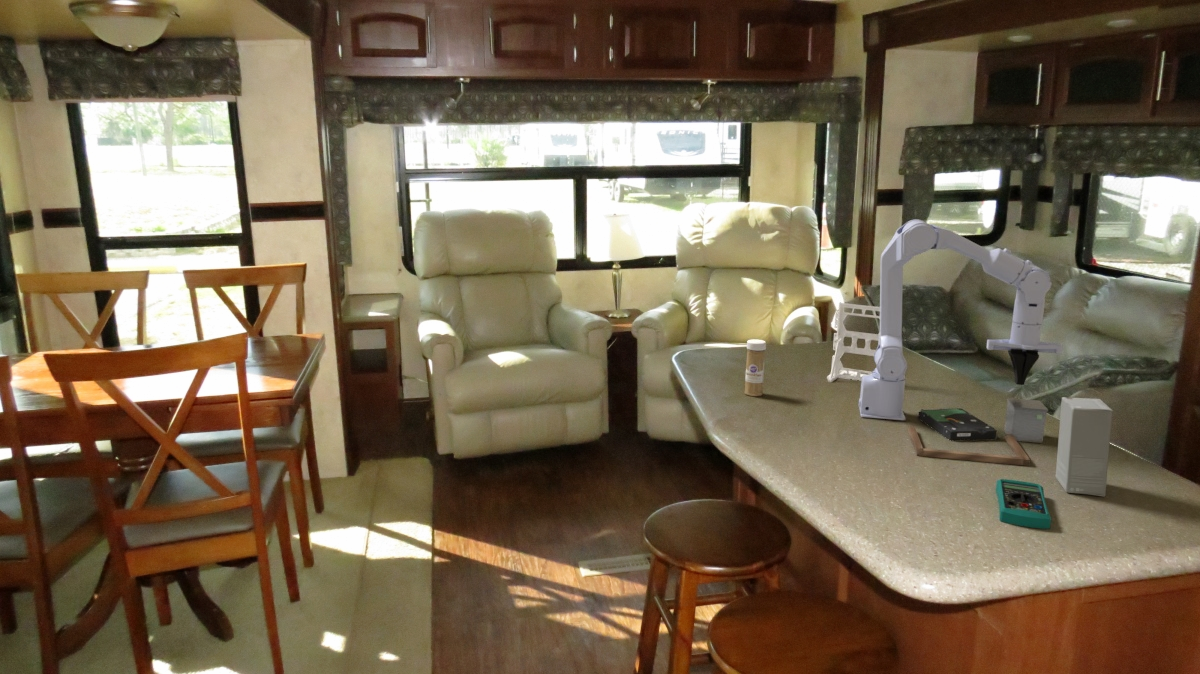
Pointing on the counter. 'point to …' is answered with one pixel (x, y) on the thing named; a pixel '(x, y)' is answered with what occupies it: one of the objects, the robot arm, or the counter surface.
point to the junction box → (1025, 420)
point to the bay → (1019, 452)
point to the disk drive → (957, 424)
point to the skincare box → (1083, 445)
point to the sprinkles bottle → (755, 367)
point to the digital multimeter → (1022, 504)
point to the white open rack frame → (853, 349)
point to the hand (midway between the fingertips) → (1019, 383)
